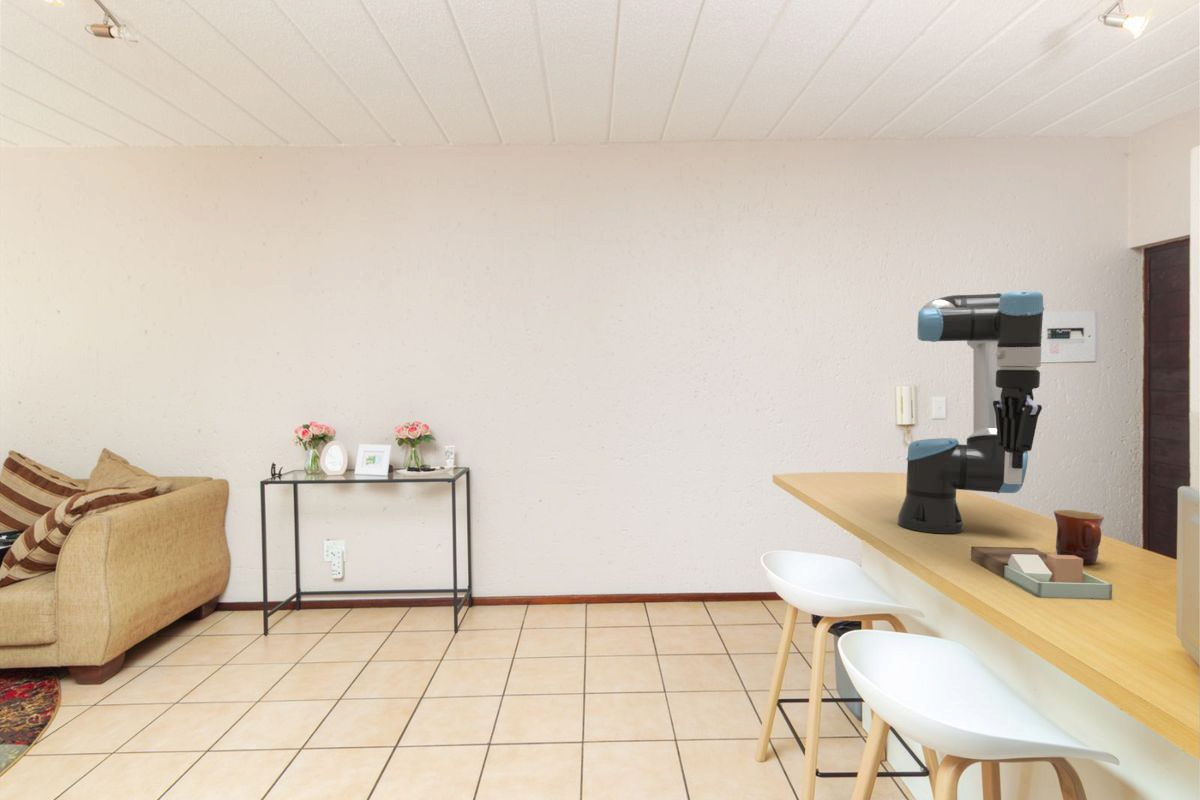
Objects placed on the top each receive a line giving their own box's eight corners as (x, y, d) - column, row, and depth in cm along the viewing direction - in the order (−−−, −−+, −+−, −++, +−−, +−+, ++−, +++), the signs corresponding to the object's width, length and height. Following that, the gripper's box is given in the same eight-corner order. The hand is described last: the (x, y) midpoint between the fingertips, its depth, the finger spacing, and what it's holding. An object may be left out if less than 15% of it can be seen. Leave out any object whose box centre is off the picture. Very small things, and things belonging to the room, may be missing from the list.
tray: (1003, 578, 126) (1004, 565, 126) (1071, 580, 126) (1072, 567, 126) (1037, 596, 116) (1038, 582, 116) (1111, 599, 115) (1112, 584, 115)
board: (970, 560, 138) (971, 546, 138) (1032, 561, 138) (1033, 547, 138) (1002, 577, 127) (1003, 562, 126) (1070, 579, 126) (1071, 564, 126)
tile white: (1007, 563, 126) (1011, 554, 125) (1033, 564, 126) (1037, 554, 125) (1020, 582, 122) (1024, 573, 121) (1047, 583, 122) (1052, 573, 120)
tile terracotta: (1047, 554, 123) (1055, 558, 121) (1074, 555, 123) (1083, 559, 121) (1046, 580, 124) (1054, 584, 121) (1072, 580, 123) (1082, 585, 121)
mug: (1044, 553, 144) (1046, 508, 144) (1087, 556, 142) (1090, 511, 142) (1071, 569, 132) (1074, 520, 132) (1120, 573, 131) (1122, 523, 130)
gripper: (981, 368, 137) (976, 477, 138) (1017, 369, 124) (1012, 489, 125) (1017, 368, 136) (1012, 477, 138) (1058, 369, 123) (1052, 490, 125)
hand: (1012, 483), depth 131 cm, fingers closed
